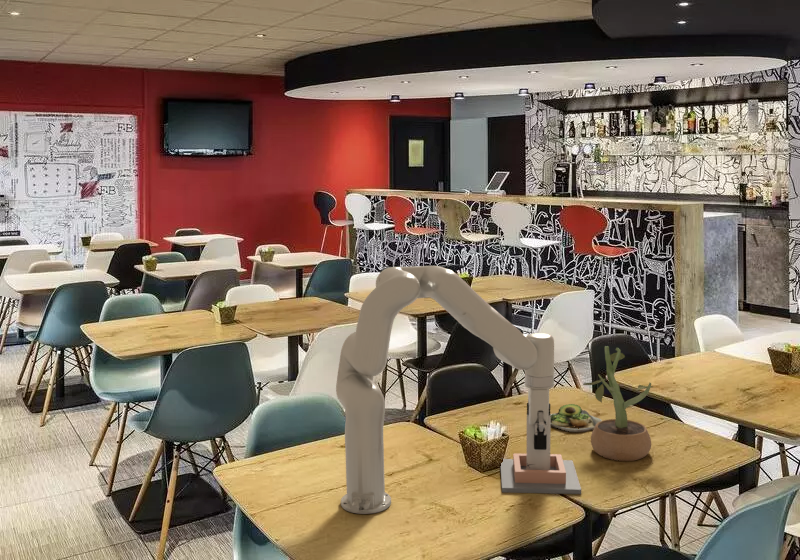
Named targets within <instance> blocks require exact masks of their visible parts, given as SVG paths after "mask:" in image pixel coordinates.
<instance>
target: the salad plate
mask: <svg viewBox="0 0 800 560" xmlns="http://www.w3.org/2000/svg"><path fill="white" fill-rule="evenodd" d="M550 414H551V416H550V417H551V428H555V429H557V428H558V429H559V430H560V429H561V430H562V431H564V430H565V432H568V431H569V433H584V432H588V431H593V430H594V428H595V425H596V424H597V423H598V422H600V421H603V420H602V419H601V418H598V417H597V416H596V417H595V416H593V415H591V414H590V413H589V412H588V411H587V410H583V409H582V407H581V406H580V405H578V404H575V403H569V404H565V405H562V406H560V407H559V409H558V412H557V413H556V412H555V413H550ZM572 426H575V427H578V428H579V429H578V428H575V427H574V428H572Z"/></svg>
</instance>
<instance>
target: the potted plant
mask: <svg viewBox="0 0 800 560" xmlns="http://www.w3.org/2000/svg"><path fill="white" fill-rule="evenodd" d="M615 351H616V352H613V353H610V346H608V345H607V346H606V345H605V346H604V359H605V364H606V378H607V379H606V378H603V377H602V376H601V375H600V374H599V373H598V374H597V376H598V377H599V379H598V380H595V381H592V382H591V381H590V382H585V383H584V382H583V383H582V384H583V386H593V385H597V384H599V383H601V385H599V387H598V388H597V389H596V390H595V393H594V396H595V400H597V401H598V402H600V403H603V397H604V393H605V387H606V389H607V390H608V391H609V393H610V394H611V396H612V400H613V406H614V412H615V414H614V415H615V418H614V419H613V418H611V419H605V420H602V421H600V422H598V423H597V424H596V425H595V428H594V430H592V431H591V435H590V445H591V447H592V449H593V451H594V452H595V453H596V454H598V455H599V456H601V457H602V456H603V457H602V458H605V459H609V460H612V461H618V460H619V461H620V462H631V461H638V460H641V459H643V458H645V457H646V456H647V455H649V453H650V451H651V448H652V439H651V436H650V433H649V431H648V428H647V427H646V425H644V424H643V423H640V422H637V421H633V420H629V419H628V414H627V410H626V409H627V408H628V407H630V406H633V405H636V404H637V403H639V402H641V401H642V400H644V398H646V396H647V395H648V394H649V393H650V390H651V388H654V386H653V385H652V382H649V383H648V384H647V385H642V384H638V386H637V389H636V390H637V391H639V390H643V391H642V392H641V393H640V394H638V395H636V396H635V397H632V398H630V399H627V400H626V401H625V400H624V398H623V395H622V393H621V390H620V385H619V383H618V382H617V379H616V377H615V373H616V369H617V367H618V363H619V361H622V359H625V357H626V356H625V354H624V353H623V352H621V351H622V350H621V349H620V348H619V347H616V348H615ZM612 363H613V364H612ZM605 380H608V383H607V382H606V381H605ZM604 386H605V387H604ZM644 389H645V390H644ZM613 459H614V460H613Z"/></svg>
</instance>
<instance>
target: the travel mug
mask: <svg viewBox="0 0 800 560" xmlns="http://www.w3.org/2000/svg"><path fill="white" fill-rule="evenodd" d="M551 414H552V413H551V403H550V402H549V417H548V425H547V426H546V434H547V449H546V450H535V449H534V434H535V424H534V425H532V426H531V425H530V424H529V403H528V402H527V403H526V454H527V463H526V466H527V468H526V470H550V454H551V428H552V426H551V417H550V416H551ZM545 422H546V421H545ZM536 423H539V421H536ZM537 428H538V427H537Z"/></svg>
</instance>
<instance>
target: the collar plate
mask: <svg viewBox="0 0 800 560" xmlns="http://www.w3.org/2000/svg"><path fill="white" fill-rule="evenodd" d="M512 456H513V457H512V458H502V459H503V462H502V463H501V466H500V480H501V481H500V483H501V493H513V494H514V493H519V494H521V493H522V494H523V493H524V494H555V495H556V494H561V495H565V494H566V495H582V487H581V484H580V481H579V477H578V474H577V471H576V467H575V464H574V461H573V459H570V460H567V459H563V457H562V454H558V453H557V454H556V453H550V470H526V468H527V466H526V463H527V453H513V455H512Z"/></svg>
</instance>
